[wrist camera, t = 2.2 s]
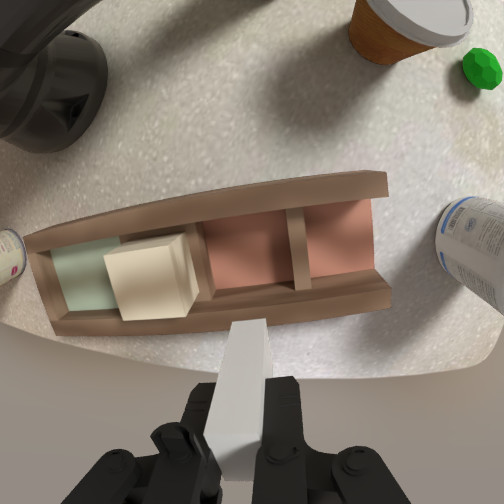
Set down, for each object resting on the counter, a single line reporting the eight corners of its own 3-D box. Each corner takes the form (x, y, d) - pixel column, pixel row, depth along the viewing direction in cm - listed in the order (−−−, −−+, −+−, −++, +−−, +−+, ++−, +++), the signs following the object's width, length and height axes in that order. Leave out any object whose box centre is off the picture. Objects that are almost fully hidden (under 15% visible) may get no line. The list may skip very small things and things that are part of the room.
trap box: (51, 225, 31) (22, 237, 26) (366, 170, 27) (386, 172, 22) (78, 315, 34) (56, 335, 29) (373, 284, 30) (390, 307, 25)
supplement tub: (489, 267, 29) (566, 318, 15) (431, 282, 30) (505, 351, 16) (490, 189, 26) (582, 214, 12) (429, 197, 27) (524, 228, 13)
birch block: (128, 240, 27) (103, 255, 23) (185, 230, 27) (167, 245, 22) (143, 297, 29) (123, 320, 24) (199, 291, 28) (185, 316, 24)
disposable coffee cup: (340, 76, 25) (379, 28, 13) (326, -1, 22) (349, -67, 10) (424, 83, 24) (491, 55, 12) (407, 9, 21) (456, -39, 10)
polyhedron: (460, 89, 23) (484, 82, 19) (451, 50, 22) (472, 39, 17) (489, 95, 23) (513, 90, 18) (480, 57, 22) (503, 49, 17)
